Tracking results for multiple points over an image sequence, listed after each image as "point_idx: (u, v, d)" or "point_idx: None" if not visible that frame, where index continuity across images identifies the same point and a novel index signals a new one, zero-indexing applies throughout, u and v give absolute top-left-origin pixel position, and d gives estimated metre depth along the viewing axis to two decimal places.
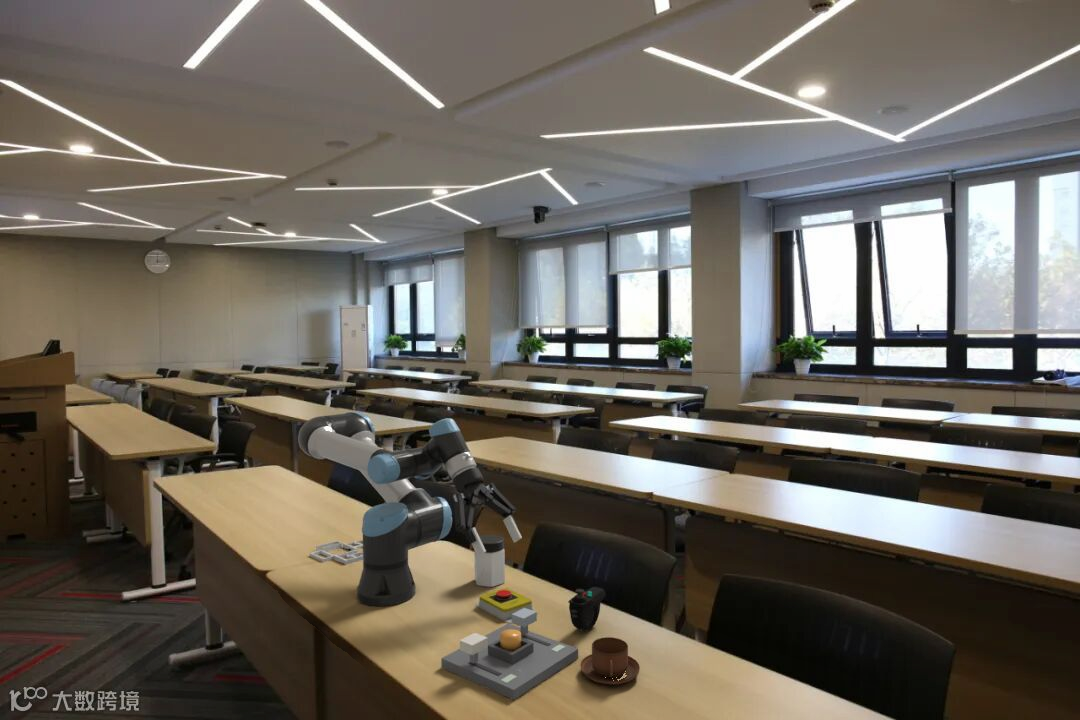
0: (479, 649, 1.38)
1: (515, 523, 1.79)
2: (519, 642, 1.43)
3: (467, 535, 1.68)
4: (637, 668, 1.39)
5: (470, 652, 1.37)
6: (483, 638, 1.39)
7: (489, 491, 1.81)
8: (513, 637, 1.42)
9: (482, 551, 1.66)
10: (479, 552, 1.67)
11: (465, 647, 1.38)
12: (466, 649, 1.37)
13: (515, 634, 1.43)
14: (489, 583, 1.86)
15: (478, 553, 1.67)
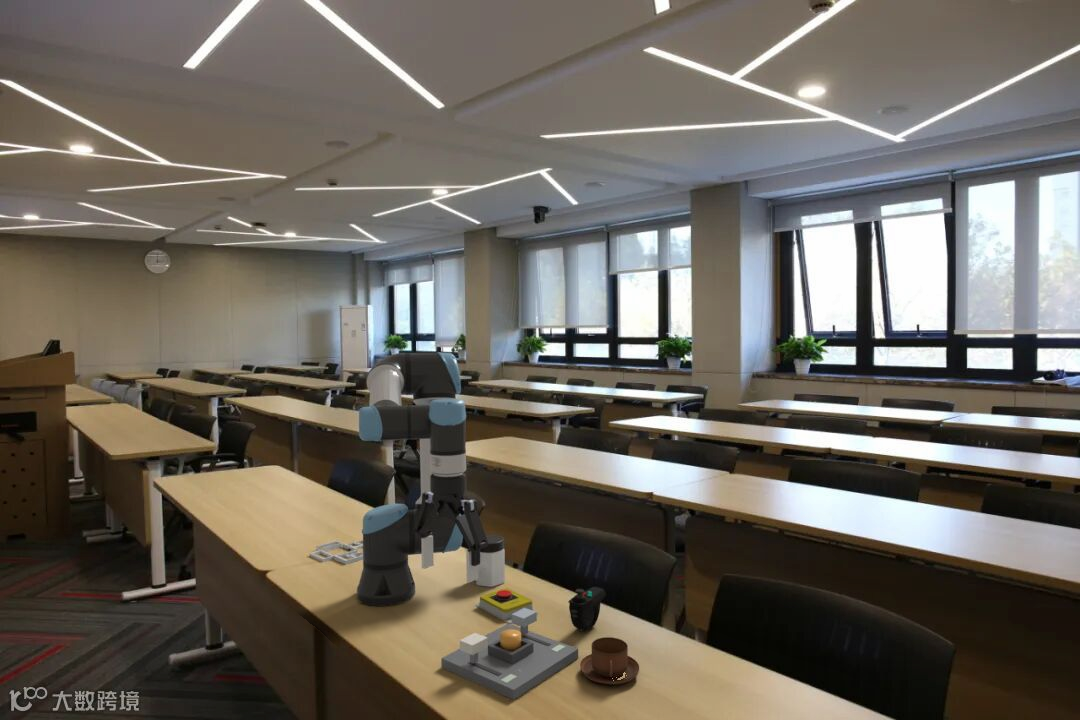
0: (479, 649, 1.38)
1: (474, 562, 1.38)
2: (519, 642, 1.43)
3: None
4: (637, 668, 1.39)
5: (470, 652, 1.37)
6: (483, 638, 1.39)
7: None
8: (513, 637, 1.42)
9: None
10: None
11: (465, 647, 1.38)
12: (466, 649, 1.37)
13: (515, 634, 1.43)
14: (489, 583, 1.86)
15: None
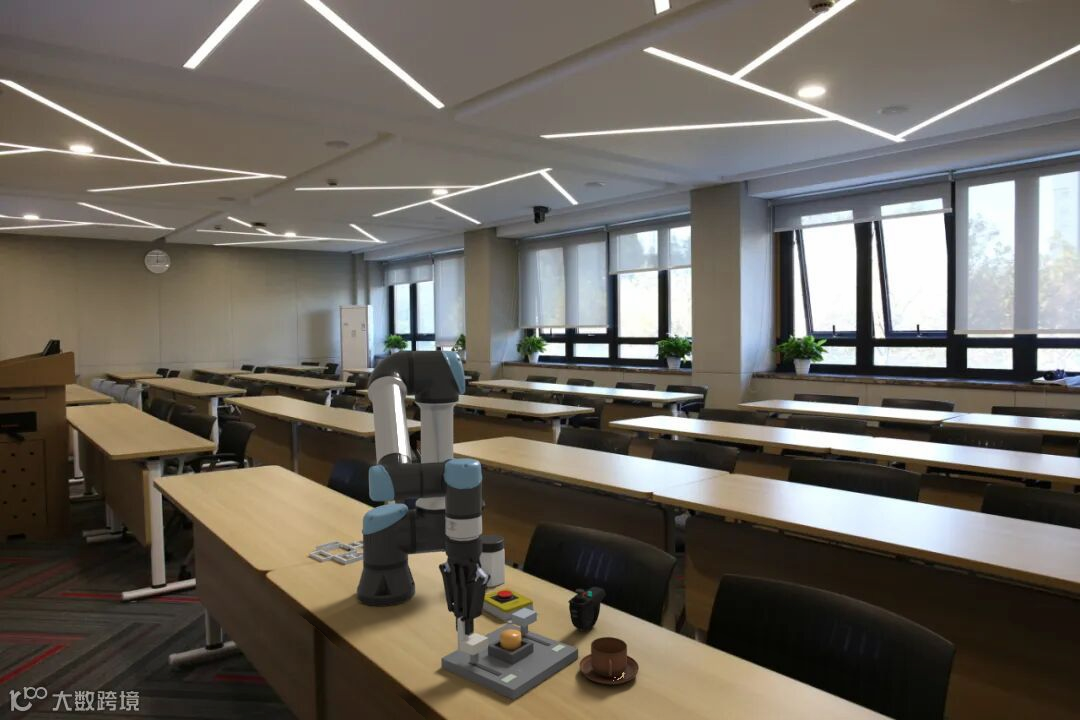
0: (480, 649, 1.38)
1: (467, 631, 1.39)
2: (519, 642, 1.43)
3: None
4: (636, 668, 1.39)
5: (471, 652, 1.37)
6: (484, 638, 1.39)
7: None
8: (513, 637, 1.42)
9: None
10: None
11: (465, 648, 1.38)
12: (467, 649, 1.37)
13: (515, 634, 1.43)
14: (489, 583, 1.86)
15: None
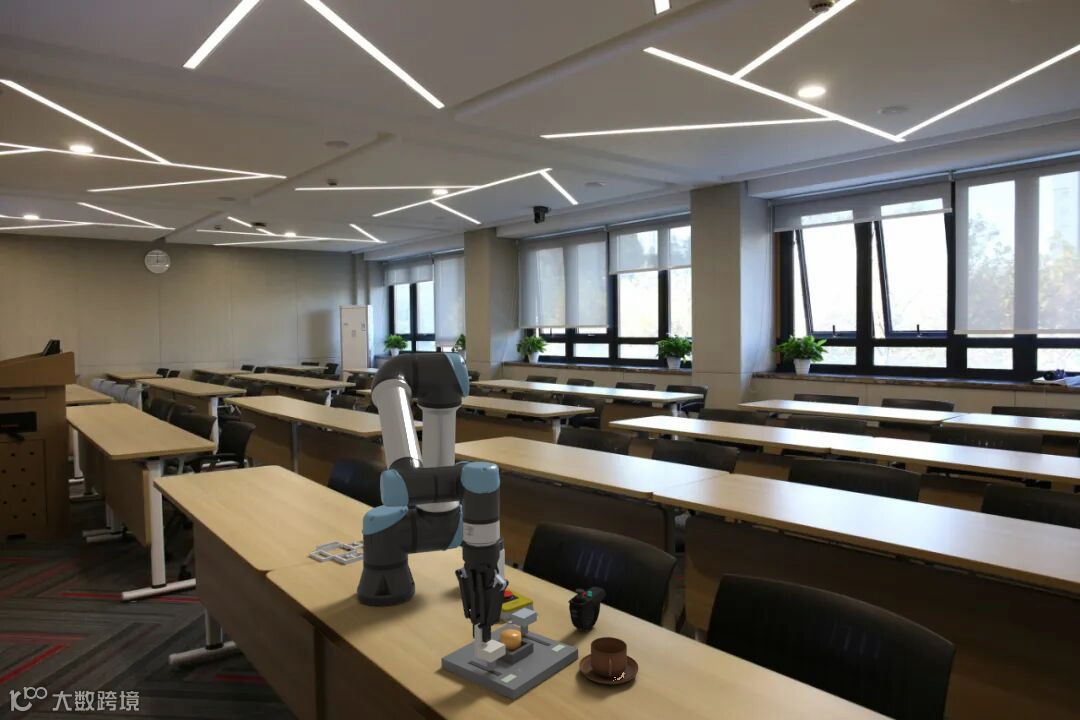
0: (497, 656, 1.35)
1: (485, 638, 1.36)
2: (519, 642, 1.43)
3: None
4: (636, 668, 1.39)
5: (488, 659, 1.34)
6: (501, 645, 1.36)
7: None
8: (513, 637, 1.42)
9: None
10: None
11: (482, 655, 1.35)
12: (484, 656, 1.34)
13: (515, 634, 1.43)
14: None
15: None
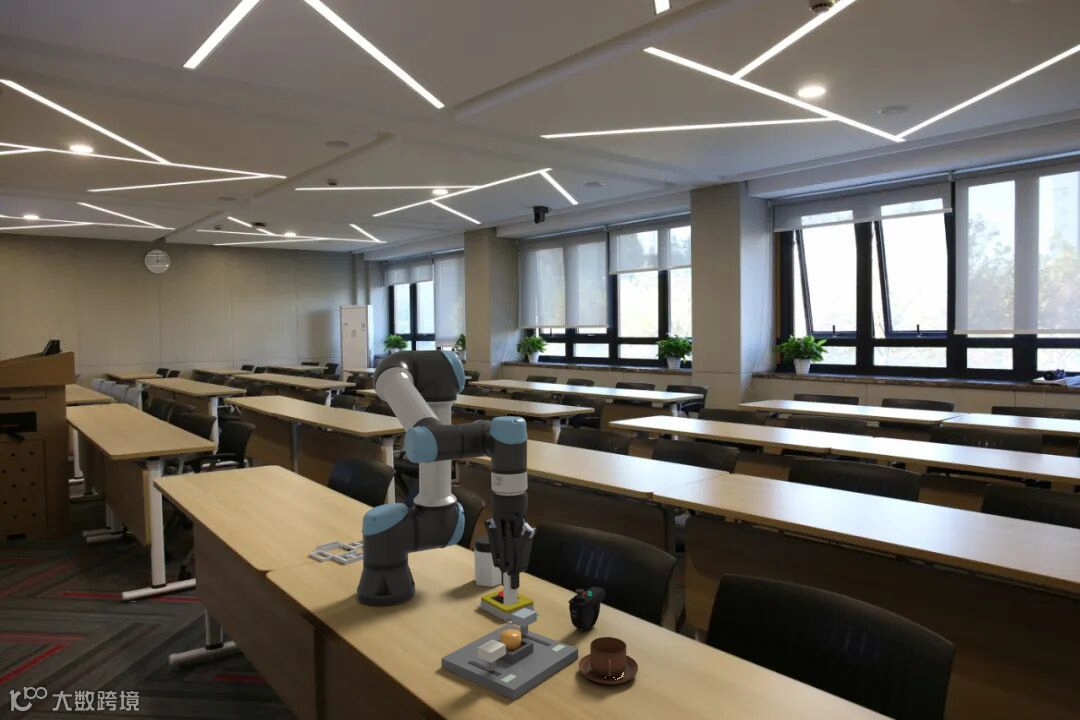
0: (497, 656, 1.35)
1: (513, 585, 1.41)
2: (519, 642, 1.43)
3: None
4: (635, 668, 1.39)
5: (488, 660, 1.34)
6: (501, 645, 1.36)
7: None
8: (513, 637, 1.42)
9: None
10: None
11: (483, 655, 1.35)
12: (484, 656, 1.34)
13: (515, 634, 1.43)
14: (489, 583, 1.86)
15: None
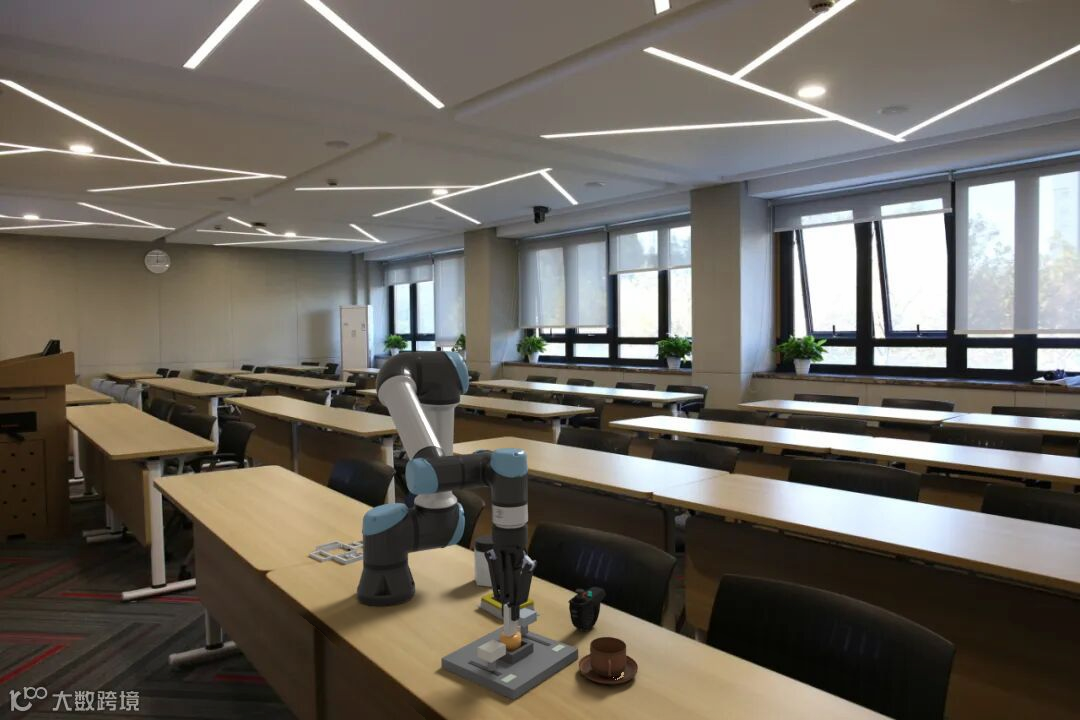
0: (497, 656, 1.35)
1: (514, 617, 1.42)
2: (519, 643, 1.43)
3: None
4: (635, 668, 1.39)
5: (488, 660, 1.34)
6: (501, 645, 1.36)
7: None
8: (513, 638, 1.42)
9: None
10: None
11: (483, 655, 1.35)
12: (484, 656, 1.34)
13: (515, 635, 1.43)
14: (489, 583, 1.86)
15: None
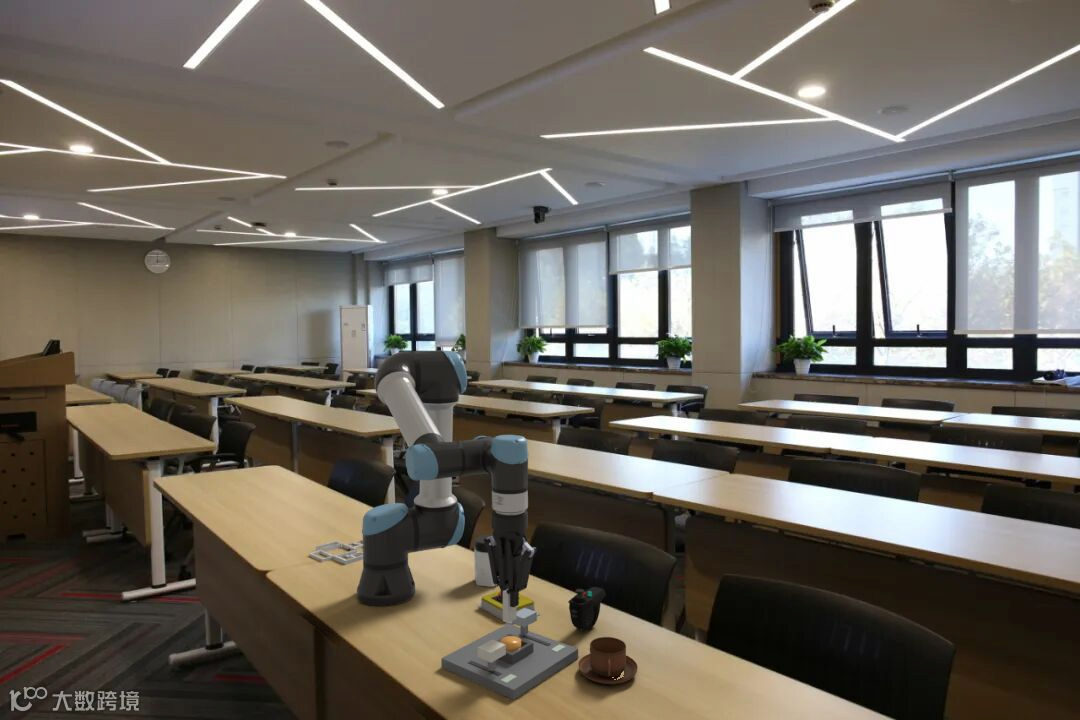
0: (497, 656, 1.35)
1: (513, 603, 1.42)
2: None
3: None
4: (635, 668, 1.39)
5: (488, 660, 1.34)
6: (501, 645, 1.36)
7: None
8: (513, 644, 1.42)
9: None
10: None
11: (483, 655, 1.35)
12: (484, 656, 1.34)
13: (515, 641, 1.43)
14: (489, 583, 1.86)
15: None
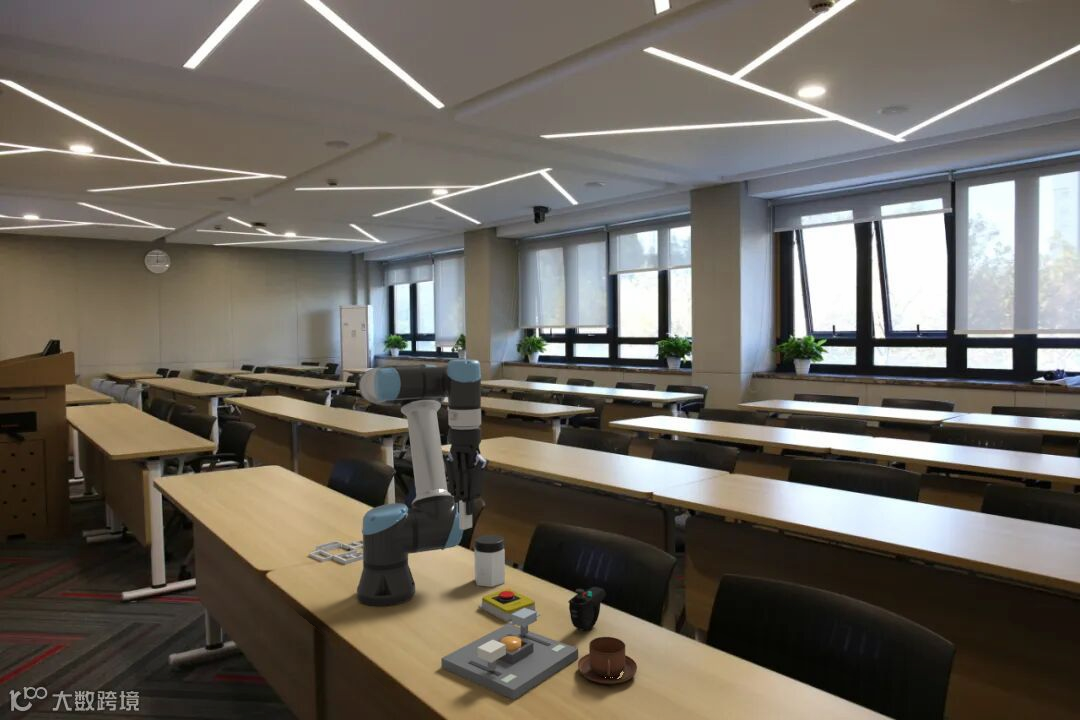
0: (497, 656, 1.35)
1: (468, 511, 1.56)
2: None
3: None
4: (634, 667, 1.39)
5: (488, 660, 1.34)
6: (501, 645, 1.36)
7: None
8: (513, 644, 1.42)
9: None
10: None
11: (483, 655, 1.35)
12: (484, 656, 1.34)
13: (515, 641, 1.43)
14: (489, 583, 1.86)
15: None
